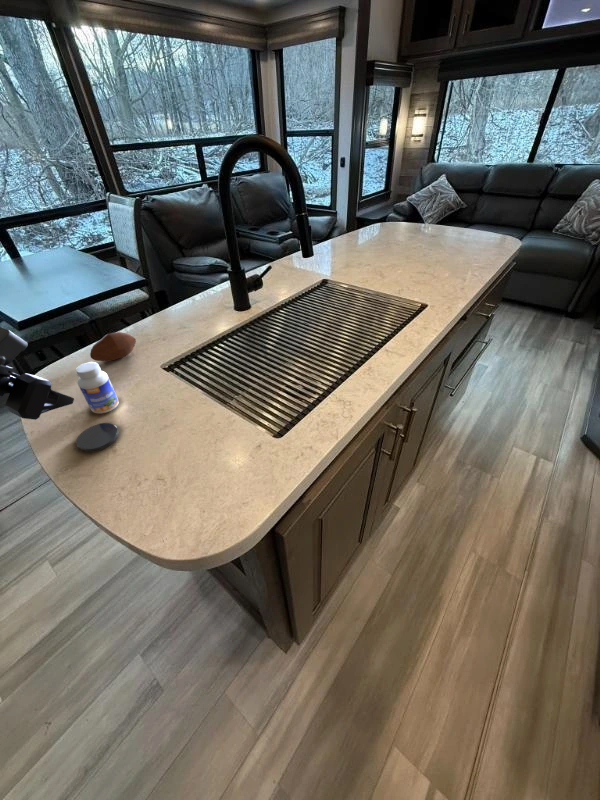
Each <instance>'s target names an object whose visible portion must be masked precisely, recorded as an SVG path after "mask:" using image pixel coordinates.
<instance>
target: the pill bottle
mask: <svg viewBox="0 0 600 800" xmlns="http://www.w3.org/2000/svg"><path fill="white" fill-rule="evenodd" d="M75 372H76V375H77V376H78V379H77V386H78V388H79V389H80V392H81V393H82V395H83V397H84V400H85V401H86V403H87V405H88V407H89V409H90V410H91V412H92V413H95V414H105V413H108V412H111V411H113V410H114V409H116V408H117V407H118V406H119V398H118V396H117V394H116V392H115V389H114V386H113V384H112V382H111V380H110V377H109V375H108V373H106V372H105V371H103V370H102V369H101V367H100V364H99V363H98V362H97V361H88V362H83V363H81V364H79V365H78V366H76V368H75Z"/></svg>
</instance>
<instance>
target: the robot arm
mask: <svg viewBox="0 0 600 800" xmlns="http://www.w3.org/2000/svg"><path fill="white" fill-rule="evenodd" d="M28 344H29V343H28V342H27V341H26V340H24V339H23V338H21V337H20V336H18V335H17V334H16V333H14V332H12V331H11V330H9V329H8V328H5V327H2V326H0V397H3V396H4V395H5V394H8V397H7V399H6V401H5V405H4V406H5V407H6V409H7V410H8V412H10V413H12V414H13V415H15V416H17V417H19V418H21V419H24V420H25V419H26V420H35V421H37V420H38V419H39V418H40V417H41V415H42V414H45V413H48V412H50V411H53V410H58V409H59V408H60V409H61V408H63V407H67V406H69V405H73V403H74V401H75V398H74V397H73V396H69V395H67V394H65V393H62V392H59V391H57V390H53V389H52V381H51V380H48V379H46V378H44V377H41V376H38V375H34V374H30V373H26V372H24V373H22V374H21V375H20V374H17V373H15V372H13V370H14V367H11V366H10V365H9V364H10V363H12V362H13V360H15V359H16V357H18V356H19V354H20V353H21V352H23V351H25V350H26V349H27V347H28ZM8 365H9V366H8Z"/></svg>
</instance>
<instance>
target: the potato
mask: <svg viewBox="0 0 600 800" xmlns="http://www.w3.org/2000/svg"><path fill="white" fill-rule="evenodd" d="M136 339H137V338H136V337H134V336H133V335H132V334H129V333H127V332H124V331H123V332H122V331H117V332H116V331H115V332H110V333H107V334H105V335H104V336H103V337H102V338H101V339H99V340H98V341H97V342H95V343H94V345H93V346H92V348H91V349H90V354H89V356H90V359H92V360H94V361H96V362H110V361H115V360H119V359H122V358H125V357H127V356H129V354H130V353H132V351H133V350H134V348H135V346H136V342H137V340H136Z"/></svg>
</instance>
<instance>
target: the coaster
mask: <svg viewBox="0 0 600 800" xmlns="http://www.w3.org/2000/svg"><path fill="white" fill-rule="evenodd" d="M119 435H120V431H119V429H118V427H117V426H116V425H115V424H114V423H110V422H102V423H97V424H94V425H91V426H89V427H87V428H86V429H85V430H83V431H82V432H81V433H80V434H79V435H78V436H77V438H76V442H75V443H76V446H77V447H78V449H79V450H80V451H82V452H84V453H96V452H99V451H102V450H104V449H106V448H108V447H110V446H111V445H113V444H114V443H115V442H116V441H117V439H118V438H119Z"/></svg>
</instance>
